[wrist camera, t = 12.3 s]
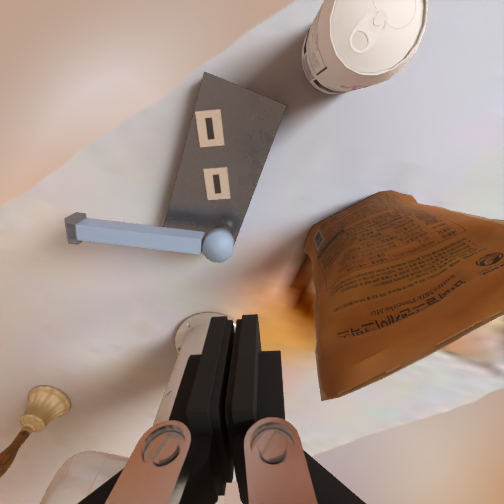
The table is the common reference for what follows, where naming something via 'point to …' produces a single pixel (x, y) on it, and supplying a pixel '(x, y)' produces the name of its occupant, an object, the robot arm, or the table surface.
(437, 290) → the pancake mix bag
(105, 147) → the table surface
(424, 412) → the table surface
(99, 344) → the table surface
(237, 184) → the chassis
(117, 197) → the table surface
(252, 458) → the robot arm
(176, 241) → the bar
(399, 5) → the supplement can
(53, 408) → the hand bell
